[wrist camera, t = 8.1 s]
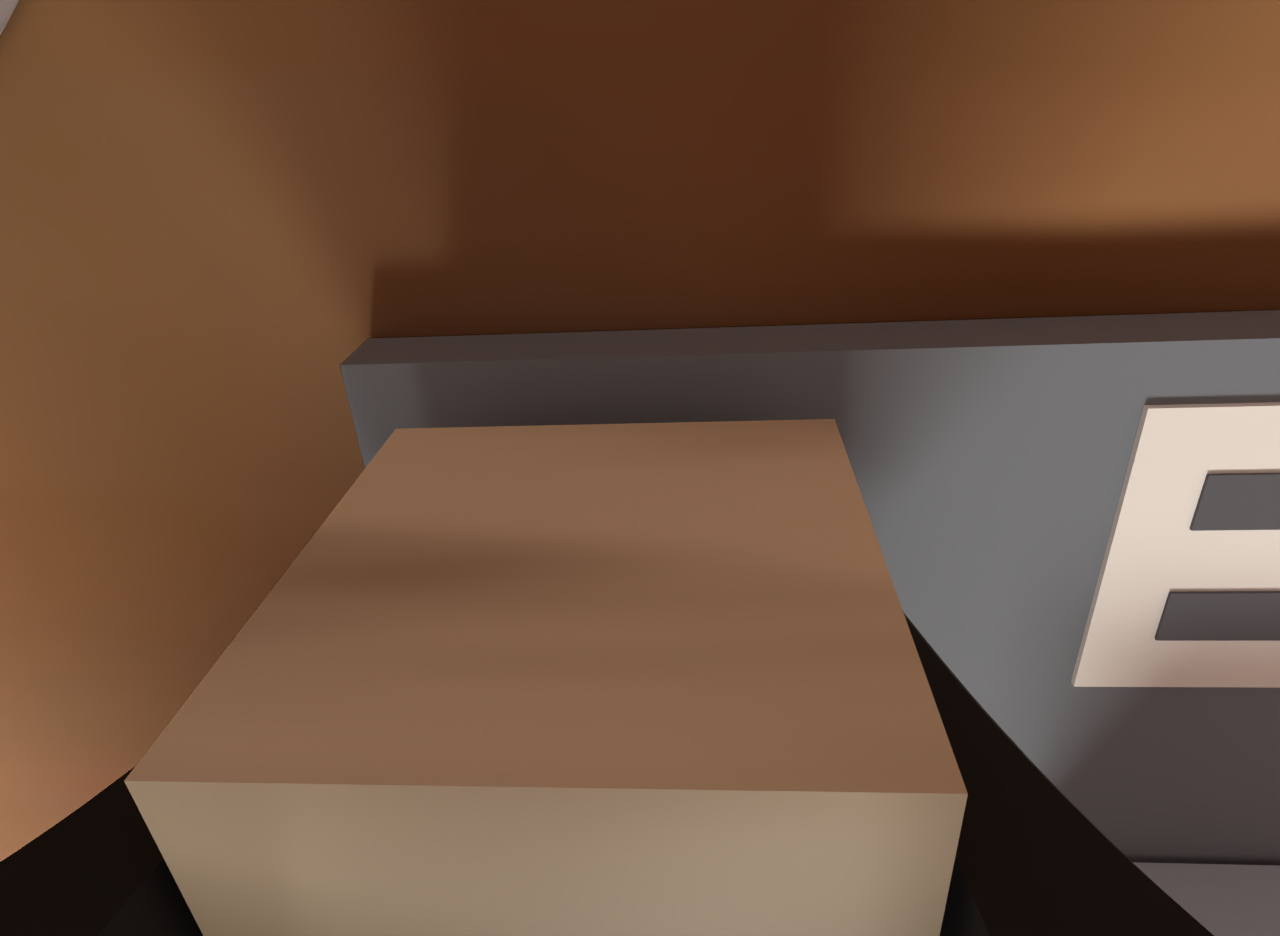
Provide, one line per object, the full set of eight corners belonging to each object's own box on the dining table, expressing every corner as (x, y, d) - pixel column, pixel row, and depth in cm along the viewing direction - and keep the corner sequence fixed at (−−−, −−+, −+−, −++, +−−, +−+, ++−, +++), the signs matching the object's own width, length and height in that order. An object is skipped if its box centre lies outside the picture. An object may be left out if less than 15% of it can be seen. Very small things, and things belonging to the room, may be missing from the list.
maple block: (813, 743, 11) (887, 1199, 7) (463, 740, 12) (322, 1166, 7) (834, 419, 9) (967, 793, 4) (395, 429, 9) (123, 781, 5)
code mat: (1369, 1007, 17) (1413, 1070, 16) (511, 977, 18) (499, 1033, 17) (1847, 291, 9) (1984, 322, 8) (368, 338, 11) (334, 369, 10)
